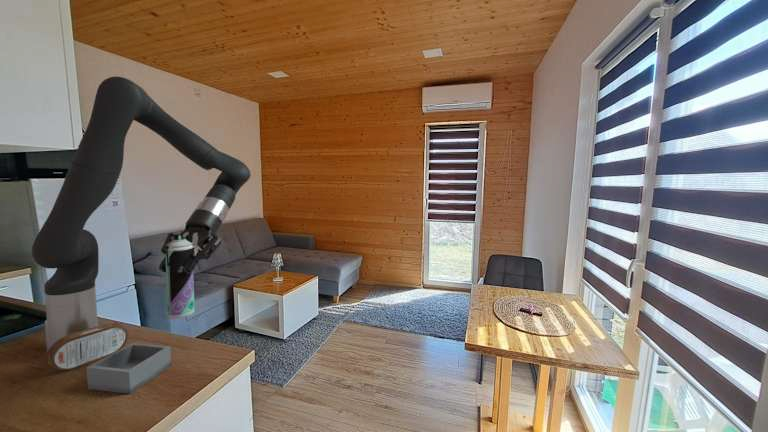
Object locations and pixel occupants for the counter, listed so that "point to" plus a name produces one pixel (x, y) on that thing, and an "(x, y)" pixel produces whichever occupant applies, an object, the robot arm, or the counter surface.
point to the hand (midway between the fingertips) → (174, 271)
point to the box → (128, 368)
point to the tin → (86, 346)
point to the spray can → (179, 278)
